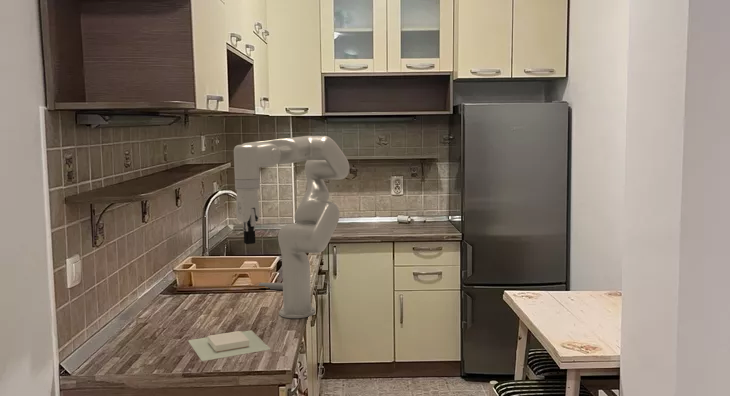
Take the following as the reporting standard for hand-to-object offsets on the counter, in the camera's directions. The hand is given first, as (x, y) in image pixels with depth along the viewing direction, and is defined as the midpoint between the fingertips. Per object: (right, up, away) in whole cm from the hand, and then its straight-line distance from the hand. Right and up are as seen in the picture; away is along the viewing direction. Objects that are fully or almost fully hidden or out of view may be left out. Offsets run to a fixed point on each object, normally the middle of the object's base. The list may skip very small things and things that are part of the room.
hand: (249, 243), depth 204 cm
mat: (-5, -30, -8) cm, 32 cm away
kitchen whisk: (+7, -23, +55) cm, 60 cm away
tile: (-7, -28, -4) cm, 29 cm away
